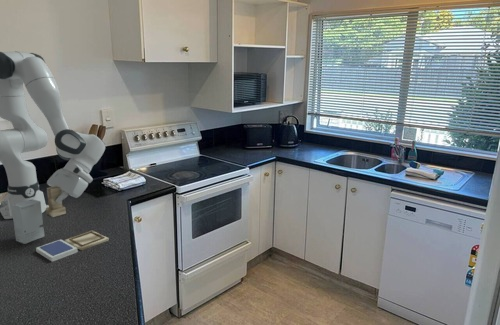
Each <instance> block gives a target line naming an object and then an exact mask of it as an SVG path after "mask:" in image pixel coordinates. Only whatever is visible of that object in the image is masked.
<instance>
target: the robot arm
mask: <svg viewBox="0 0 500 325" xmlns="http://www.w3.org/2000/svg"><path fill="white" fill-rule="evenodd" d="M24 87H25V89H26V91H27V93H28V94H29V96H30V98H31V99H32V101H33V102H34V104H36V107H37V108H38V109H39V110H40V111H41V113H42V114H43V116H44V117H45V119H46V120H47V122H48V124H49V126H50V129H51V131H52V133H53V135H54V146H55V150H56V153H57V155H58V156H59V157H60V158H61V159H62V160H64V161H68V162H67V163H66V164H65V166H64V167H62V168H60V169H57V170H56V171H55V172H53V174H52V175H50V177H49V178H48V180H47V181H46V185H48V186H49V187H54V186H57V187H60V190H61V195H60V196H59V197H56V199H55V200H54V201H55V202H56V203H58V204H59V203H60V202H61V201H62V202H63V200H65V199H66V198H67V197H68V196H71V197H73V198H76V199H77V198H79V197H81V195H82V194H83V193H84V191H86V189H87V188H88V186H89V184H91V183H92V182H93V180H94V179H93V177H92V176H91V175H90V173H91V171H92V169H93V167H94V165H96V164H97V163H98V162H99V161H100V159H101V157H102V156H103V155H104V152H105V150H106V144H105V142H104V141H103V140H102V138H100V137H99V136H98V135H96V134H93V133H91V134H89V133H88V134H87V133H81V132H77V131H75V130H72V129H70V128H69V125H68V123H67V121H66V118H65V116H64V114H63V109H62V99H61V92H60V88H59V85H58V83H57V81H56V79H55V77H54V74H53V73H52V71H51V70H50V68H49V66H48V65H47V63H46V61H45V59H44V57H42V56H41V54H37V53H34V52H26V51H25V52H24V51H16V50H15V51H0V119H3V120H5V121H8V122H10V123H11V124H12V127H13V128H9V129H7V128H6V129H0V163H1V164H2V165H3V167H4V169H5V173H6V176H7V182H8V185H7V193H6V196H4V198H3V200H1V201H0V205H1V207H0V214H1V216H2V217H3V218H4V220H10V219H13V214H12V207H11V205H12V204H16V203H19V202H23V201H28V200H32V199H33V200H37V201H40V203H41V211H42V214H43V213H44V212H45V211H46V208H47V207H49V204H46V200H45V196H44V192H43V191H42V190H40V184H39V180H38V178H37V171H36V170H37V168H36V166H35V165H34V164H33V162H31V161H27V160H25V159H22V155H21V154H24V153H30V152H34V151H37V150H41V149H43V148H45V147H46V146H47V144H48V142H49V137H48V136H49V135H48V133H47V132H46V130H45V129H44V128H43V127H40V126H39V125H38V124H36V123H35V122H34V120H33V119H32V117H31V115H30V114H29V110H28V106H27V101H26V100H27V99H26V94H25V90H24Z"/></svg>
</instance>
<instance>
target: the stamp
mask: <svg viewBox="0 0 500 325" xmlns="http://www.w3.org/2000/svg"><path fill="white" fill-rule="evenodd" d="M46 192H47V193H46V194H47V200H48V201H47V202H48V204H47V205H49V207H47V208H46V210H45V211H46V216H47V217H49V218H51V219H56V218H59V217H63V216H66V215H67V211H66V207H65V206H64V205H63V200H62V201H61V202H60V203H59V204H58V203H56V202H55V201H54V200H55V199H56V197H59V196H60V195H61V193H62V192H61V190H60V187H57V186H54V187H51V186H49V187H46Z"/></svg>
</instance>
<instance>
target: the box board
mask: <svg viewBox="0 0 500 325" xmlns="http://www.w3.org/2000/svg"><path fill="white" fill-rule="evenodd" d="M109 240H110V238H109V237H107V236H104V235H103V234H100V233H99V232H96V231H95V230H89V231H86V232H83V233H80V234H78V235H75V236H72V237H69V238H66V239H65V240H64V241H65V242H67V243H69V244H70V245H72V246H74V247H76V248H77V250H80V251H85V250H88V249H89V248H92V247H95V246H97V245H101V244H103V243H106V242H108V241H109Z"/></svg>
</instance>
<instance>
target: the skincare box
mask: <svg viewBox="0 0 500 325" xmlns="http://www.w3.org/2000/svg"><path fill="white" fill-rule="evenodd" d="M11 207H12V214H13V218H12V219H13V220H12V221H13V226H14V228H13V230H14V236H15V241H16V242H18V243H20V244H24V245H26V244H28V243H29V244H30V243H31V242H33V241H36V240H39V239H41V238H42V239H43V238H44V237H45V230H44V223H43V222H44V219H43V213H42V211H41V203H40V201H37V200H33V199H32V200H28V201H23V202H19V203H16V204H12V205H11Z"/></svg>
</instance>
